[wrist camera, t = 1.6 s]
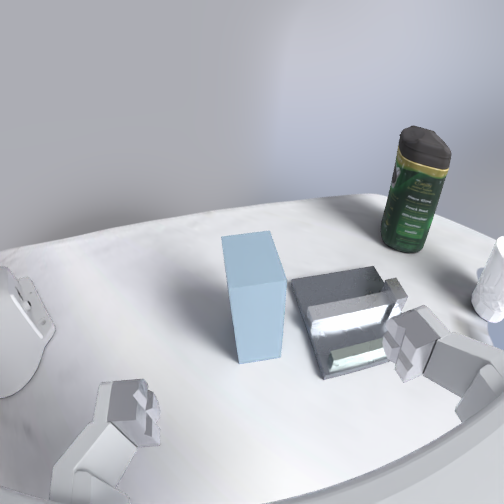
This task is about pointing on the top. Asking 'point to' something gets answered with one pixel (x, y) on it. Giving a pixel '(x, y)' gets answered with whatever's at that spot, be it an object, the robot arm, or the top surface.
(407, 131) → the coffee jar
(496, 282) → the white cup
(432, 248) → the top surface
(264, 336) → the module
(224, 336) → the top surface
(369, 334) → the rail plate
